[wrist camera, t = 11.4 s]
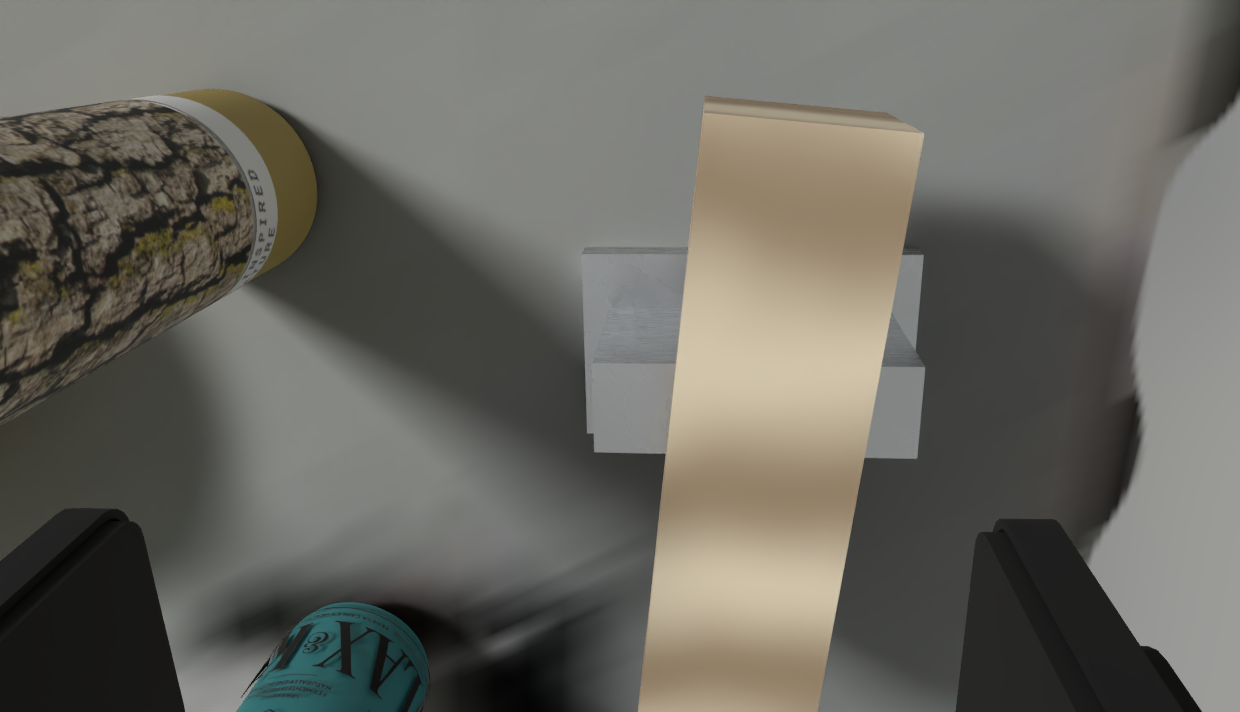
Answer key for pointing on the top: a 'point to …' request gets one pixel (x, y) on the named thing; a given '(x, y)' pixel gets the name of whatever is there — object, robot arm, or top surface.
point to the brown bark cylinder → (135, 225)
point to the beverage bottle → (343, 665)
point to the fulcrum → (648, 338)
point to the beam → (772, 398)
